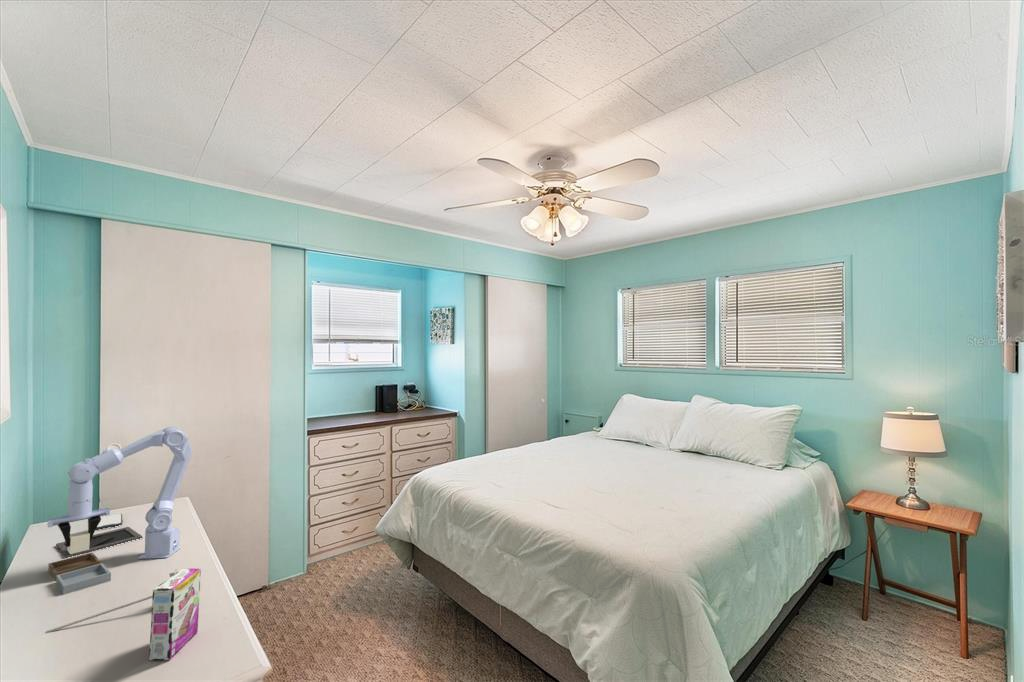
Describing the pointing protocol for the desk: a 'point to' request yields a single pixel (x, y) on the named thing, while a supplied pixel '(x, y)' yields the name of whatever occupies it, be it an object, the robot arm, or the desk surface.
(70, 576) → the grey tray
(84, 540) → the sandstone block
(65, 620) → the desk surface
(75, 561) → the walnut tray
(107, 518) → the phone case
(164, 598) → the candy bar box
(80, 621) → the brush
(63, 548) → the picture frame
